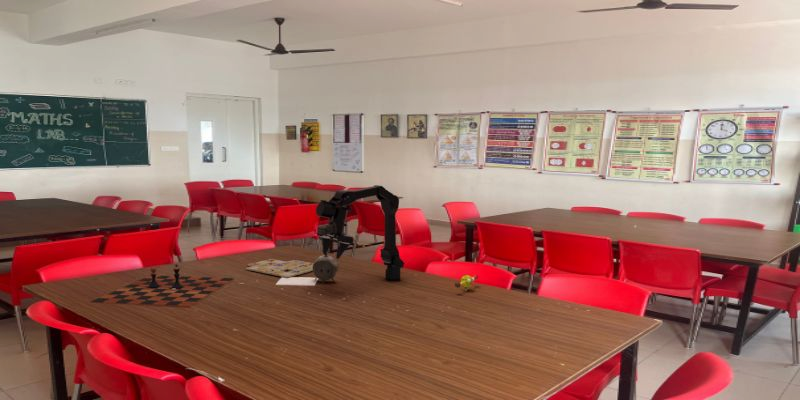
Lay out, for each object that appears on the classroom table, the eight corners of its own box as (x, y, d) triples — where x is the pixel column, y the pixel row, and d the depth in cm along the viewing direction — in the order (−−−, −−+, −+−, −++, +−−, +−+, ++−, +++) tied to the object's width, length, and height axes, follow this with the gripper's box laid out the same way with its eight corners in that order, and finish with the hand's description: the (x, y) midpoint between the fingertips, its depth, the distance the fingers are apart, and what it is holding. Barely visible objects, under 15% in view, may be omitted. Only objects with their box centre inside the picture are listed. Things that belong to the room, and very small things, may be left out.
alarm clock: (337, 281, 231) (339, 246, 228) (335, 285, 226) (336, 250, 223) (314, 278, 232) (315, 244, 229) (310, 282, 227) (312, 247, 224)
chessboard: (234, 280, 231) (233, 256, 229) (189, 308, 191) (188, 280, 190) (150, 277, 234) (149, 254, 233) (89, 304, 195) (88, 276, 194)
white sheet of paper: (318, 278, 235) (318, 277, 235) (314, 285, 223) (314, 284, 223) (281, 277, 235) (281, 277, 235) (275, 285, 223) (275, 284, 223)
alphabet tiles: (327, 267, 256) (327, 264, 255) (287, 278, 232) (287, 275, 232) (279, 258, 273) (279, 256, 273) (237, 268, 250) (237, 265, 250)
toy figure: (462, 296, 212) (462, 280, 211) (450, 294, 215) (451, 278, 214) (482, 287, 226) (483, 272, 225) (471, 285, 229) (472, 270, 228)
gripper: (310, 214, 214) (302, 250, 214) (336, 220, 201) (328, 259, 200) (331, 218, 222) (324, 253, 221) (358, 224, 209) (350, 261, 208)
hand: (330, 256), depth 213 cm, fingers open, 9 cm apart
